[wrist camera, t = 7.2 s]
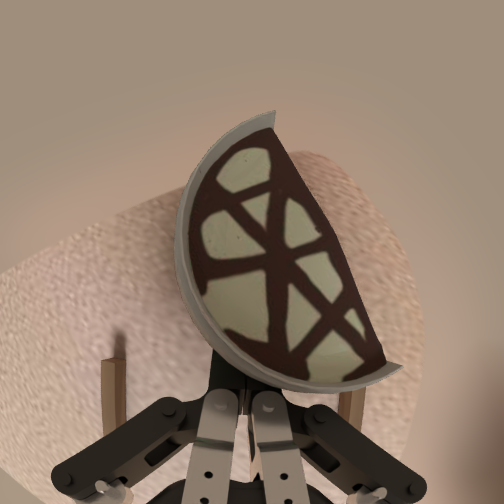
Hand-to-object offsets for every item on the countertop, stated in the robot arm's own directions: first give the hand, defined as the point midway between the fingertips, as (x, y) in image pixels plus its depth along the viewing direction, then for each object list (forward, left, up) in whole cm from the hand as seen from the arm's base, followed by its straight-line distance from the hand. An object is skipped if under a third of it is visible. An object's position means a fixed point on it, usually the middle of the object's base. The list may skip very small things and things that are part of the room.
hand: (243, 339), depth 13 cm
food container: (0, +3, -5) cm, 6 cm away
